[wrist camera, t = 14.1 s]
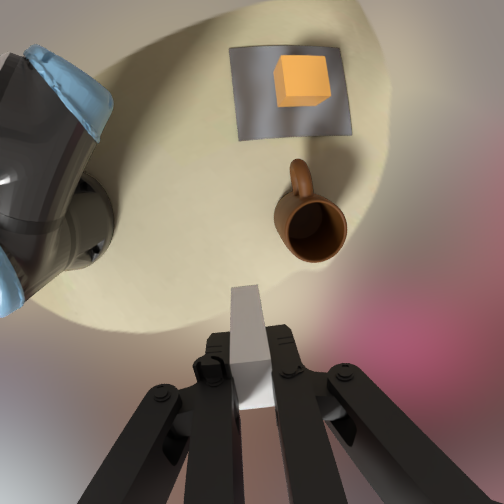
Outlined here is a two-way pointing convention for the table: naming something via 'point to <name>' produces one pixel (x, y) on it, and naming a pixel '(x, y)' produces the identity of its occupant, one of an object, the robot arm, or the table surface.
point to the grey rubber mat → (265, 102)
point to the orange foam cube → (301, 80)
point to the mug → (309, 219)
